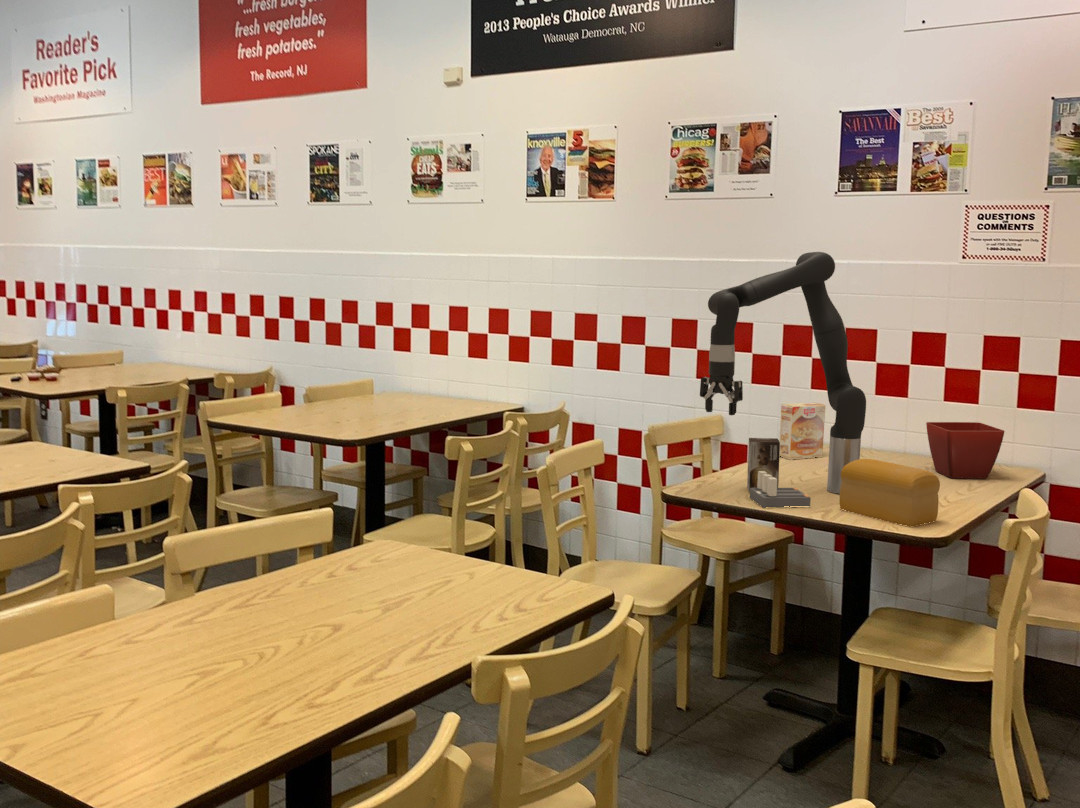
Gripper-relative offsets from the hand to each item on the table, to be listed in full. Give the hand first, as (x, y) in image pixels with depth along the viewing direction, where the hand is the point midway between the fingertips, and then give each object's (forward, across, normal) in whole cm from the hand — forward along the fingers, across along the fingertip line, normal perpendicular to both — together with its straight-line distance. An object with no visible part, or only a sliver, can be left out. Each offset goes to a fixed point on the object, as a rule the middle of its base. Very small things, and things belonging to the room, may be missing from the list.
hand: (720, 413), depth 316 cm
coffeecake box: (+26, +21, -74) cm, 81 cm away
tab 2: (+22, -15, -4) cm, 27 cm away
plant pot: (+27, -32, -90) cm, 99 cm away
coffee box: (+26, -4, -16) cm, 31 cm away
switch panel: (+25, -17, -7) cm, 31 cm away
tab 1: (+22, -11, -7) cm, 26 cm away
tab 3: (+22, -19, -1) cm, 29 cm away
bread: (+26, -45, -19) cm, 56 cm away
